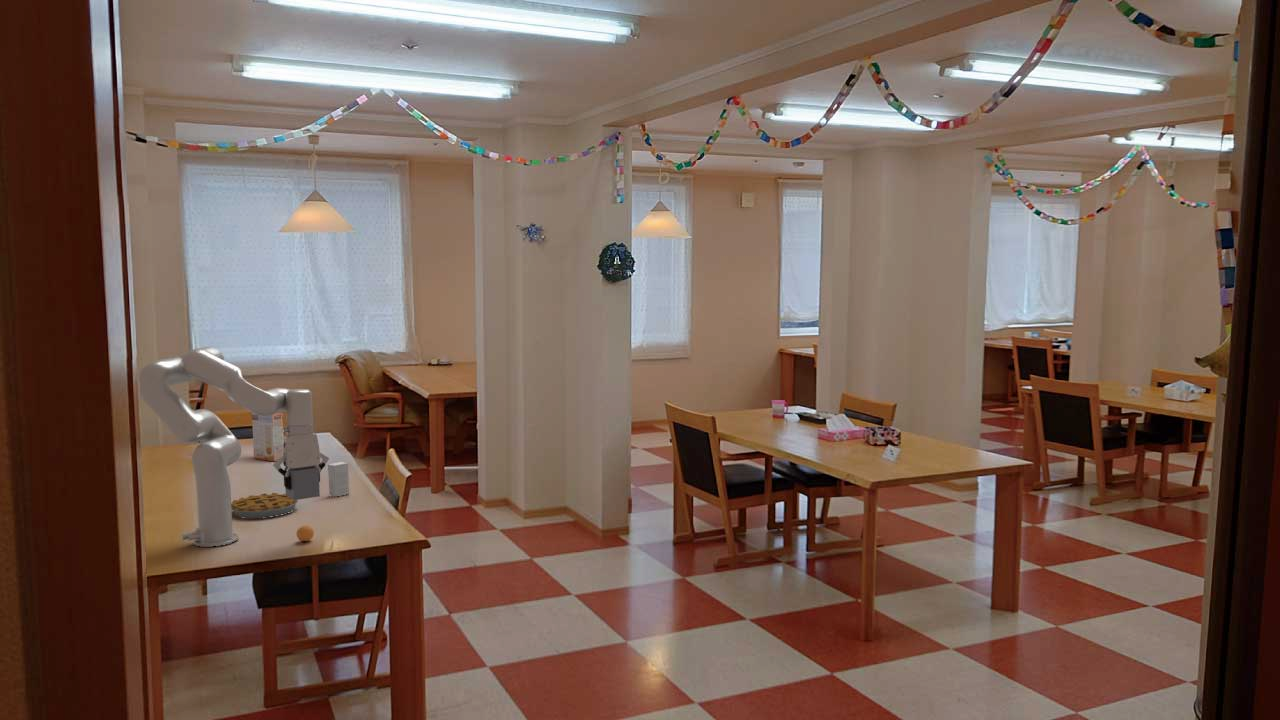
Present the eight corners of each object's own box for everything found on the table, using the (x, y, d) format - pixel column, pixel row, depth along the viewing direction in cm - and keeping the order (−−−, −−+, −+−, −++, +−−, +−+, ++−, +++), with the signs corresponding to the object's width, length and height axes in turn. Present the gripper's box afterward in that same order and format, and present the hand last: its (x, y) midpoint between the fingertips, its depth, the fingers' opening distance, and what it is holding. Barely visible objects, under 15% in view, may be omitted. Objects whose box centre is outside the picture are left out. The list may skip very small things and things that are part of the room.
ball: (294, 524, 291) (292, 537, 292) (302, 533, 288) (299, 546, 289) (310, 520, 294) (308, 533, 296) (317, 529, 291) (315, 542, 293)
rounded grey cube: (294, 500, 284) (293, 471, 283) (285, 495, 290) (284, 467, 289) (319, 496, 289) (318, 467, 288) (310, 491, 295) (309, 463, 294)
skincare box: (343, 492, 355) (341, 461, 354) (349, 494, 352) (348, 462, 351) (328, 495, 351) (327, 464, 349) (335, 497, 348) (334, 465, 347)
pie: (221, 511, 329) (221, 497, 329) (285, 501, 343) (284, 488, 343) (242, 524, 313) (241, 509, 312) (307, 513, 327) (307, 499, 326)
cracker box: (285, 459, 417) (283, 412, 415) (273, 462, 412) (271, 414, 410) (265, 456, 425) (263, 410, 423) (253, 459, 420) (251, 412, 418)
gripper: (274, 434, 279) (277, 493, 281) (333, 428, 290) (335, 485, 292) (266, 431, 285) (269, 489, 287) (324, 425, 296) (326, 480, 298)
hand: (302, 486), depth 289 cm, fingers closed on rounded grey cube, 7 cm apart
